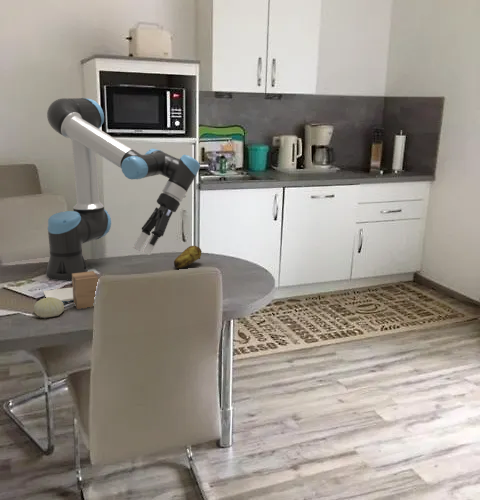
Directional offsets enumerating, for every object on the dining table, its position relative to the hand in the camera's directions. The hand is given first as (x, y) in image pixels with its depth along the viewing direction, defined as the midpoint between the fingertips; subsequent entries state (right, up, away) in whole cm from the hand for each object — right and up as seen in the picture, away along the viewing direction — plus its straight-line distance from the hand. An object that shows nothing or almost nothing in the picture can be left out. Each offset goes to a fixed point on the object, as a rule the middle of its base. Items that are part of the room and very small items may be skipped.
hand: (140, 251), depth 192 cm
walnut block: (-17, -17, -6) cm, 25 cm away
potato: (+12, -6, +37) cm, 39 cm away
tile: (-26, -16, -1) cm, 31 cm away
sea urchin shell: (-26, -20, -14) cm, 36 cm away
